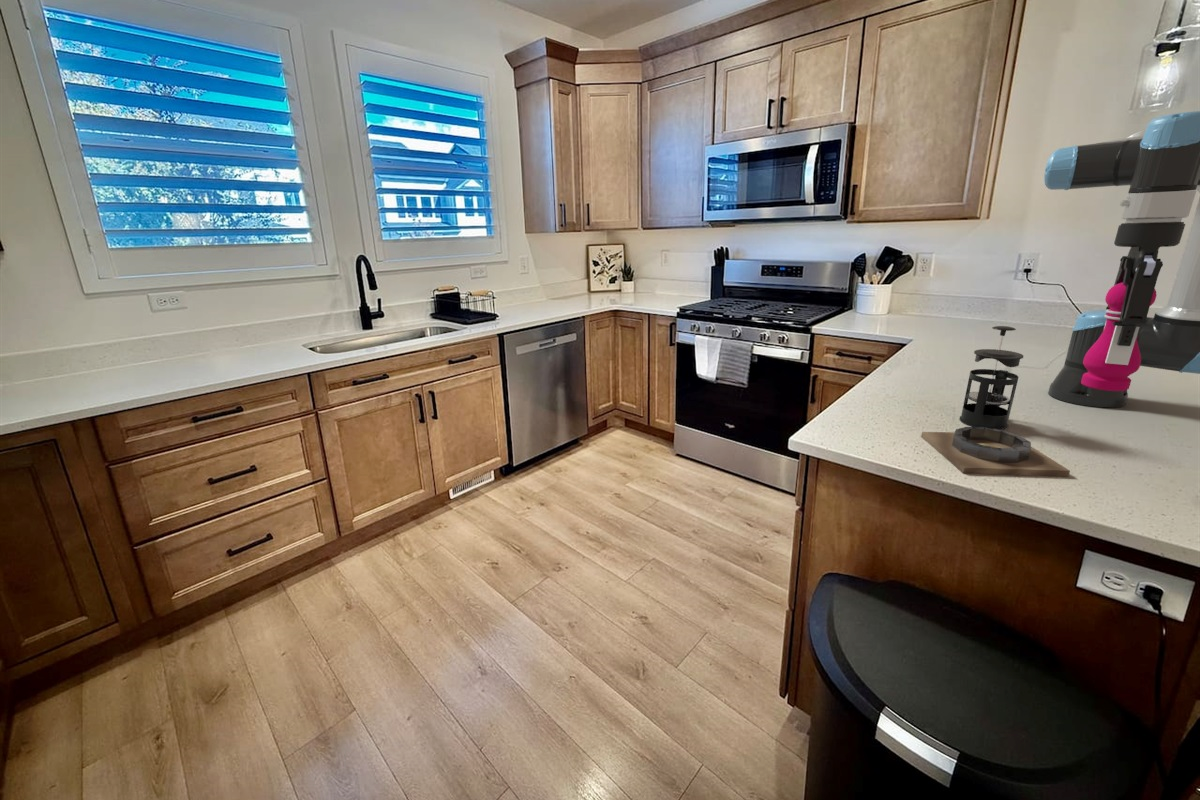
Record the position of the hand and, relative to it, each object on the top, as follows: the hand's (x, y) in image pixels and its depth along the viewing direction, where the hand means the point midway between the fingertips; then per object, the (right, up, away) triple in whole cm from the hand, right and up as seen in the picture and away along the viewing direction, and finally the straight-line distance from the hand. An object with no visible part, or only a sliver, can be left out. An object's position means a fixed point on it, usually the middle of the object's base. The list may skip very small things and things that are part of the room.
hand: (1111, 358), depth 90 cm
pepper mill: (0, -5, +2) cm, 5 cm away
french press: (+1, -13, +32) cm, 34 cm away
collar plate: (-10, -19, +15) cm, 26 cm away
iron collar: (-11, -17, +15) cm, 25 cm away
